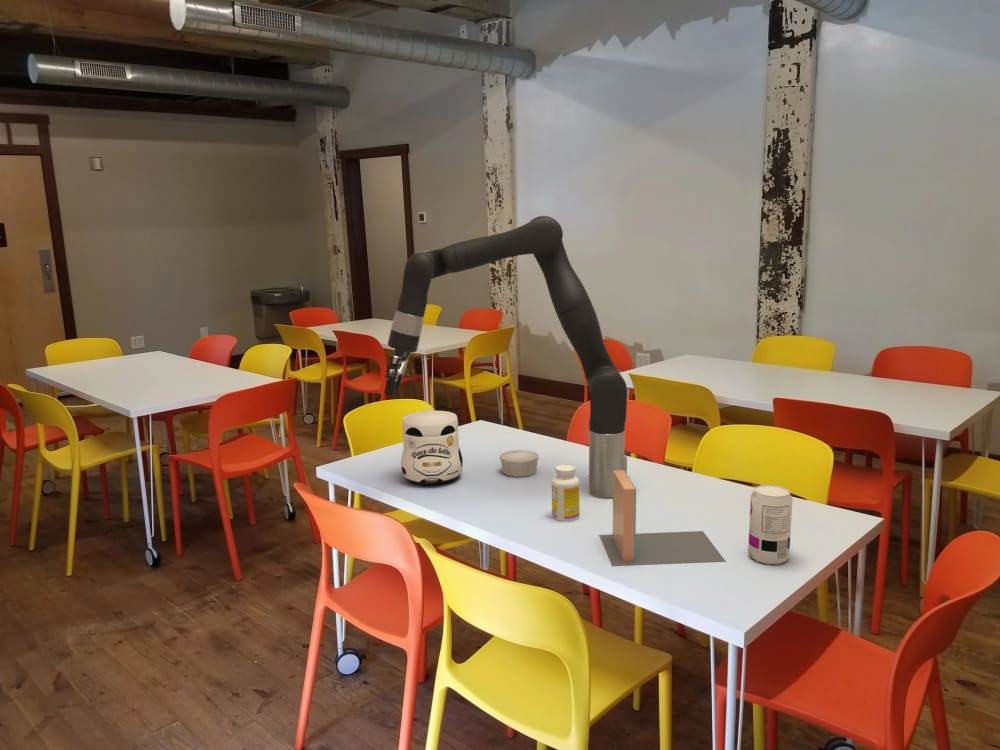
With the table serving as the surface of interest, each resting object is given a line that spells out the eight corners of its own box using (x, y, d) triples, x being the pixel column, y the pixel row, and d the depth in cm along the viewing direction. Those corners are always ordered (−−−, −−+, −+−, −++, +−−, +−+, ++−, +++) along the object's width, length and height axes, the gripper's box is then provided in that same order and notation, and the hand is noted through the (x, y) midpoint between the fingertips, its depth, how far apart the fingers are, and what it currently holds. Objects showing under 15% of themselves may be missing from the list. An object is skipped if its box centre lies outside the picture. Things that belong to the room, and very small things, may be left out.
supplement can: (741, 558, 163) (744, 491, 160) (759, 546, 168) (762, 481, 165) (777, 569, 157) (781, 500, 154) (795, 556, 163) (799, 489, 160)
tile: (623, 561, 161) (624, 489, 158) (612, 538, 173) (613, 470, 170) (635, 560, 161) (636, 488, 158) (623, 537, 173) (624, 470, 170)
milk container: (425, 493, 205) (423, 429, 201) (389, 478, 218) (386, 417, 214) (475, 478, 216) (473, 416, 212) (438, 464, 229) (436, 406, 225)
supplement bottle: (583, 515, 187) (584, 465, 185) (572, 525, 182) (572, 473, 179) (559, 511, 191) (559, 461, 188) (547, 520, 185) (546, 469, 183)
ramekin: (522, 464, 228) (522, 447, 227) (547, 473, 219) (546, 455, 218) (492, 472, 221) (491, 454, 220) (516, 481, 213) (516, 463, 212)
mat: (612, 567, 159) (612, 566, 159) (599, 536, 175) (599, 534, 175) (725, 563, 160) (726, 561, 160) (702, 532, 176) (702, 531, 176)
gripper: (415, 337, 186) (400, 400, 188) (424, 332, 200) (410, 391, 203) (386, 329, 186) (371, 393, 189) (396, 325, 200) (383, 384, 203)
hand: (391, 392), depth 196 cm, fingers open, 8 cm apart
